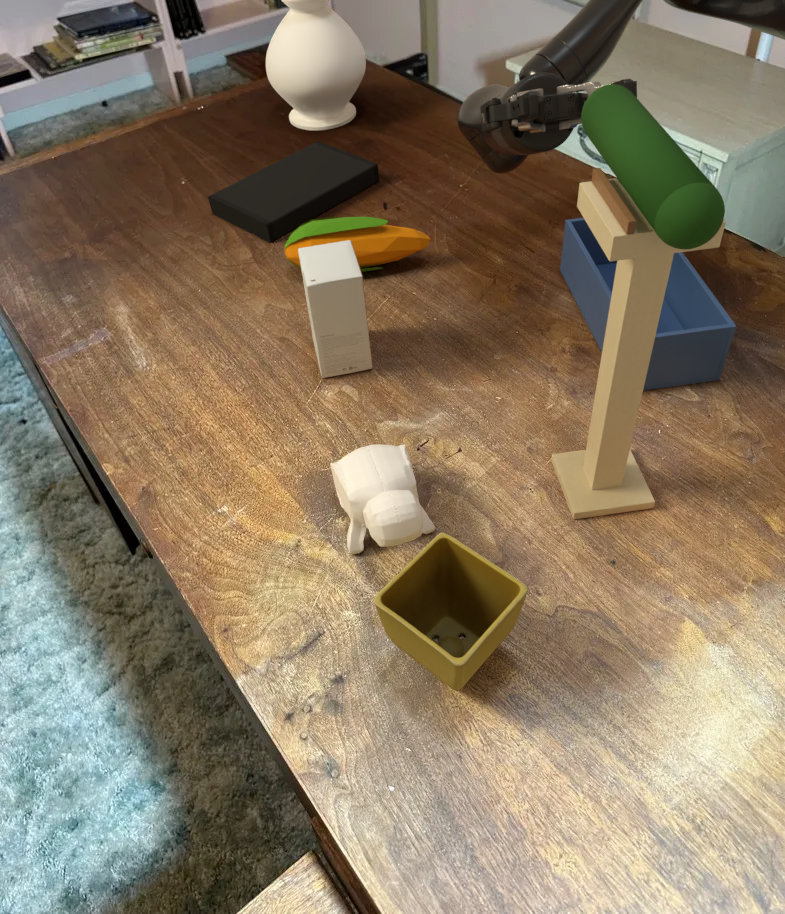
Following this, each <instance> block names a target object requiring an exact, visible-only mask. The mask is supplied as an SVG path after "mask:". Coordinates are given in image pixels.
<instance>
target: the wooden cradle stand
mask: <svg viewBox="0 0 785 914" xmlns="http://www.w3.org/2000/svg"><path fill="white" fill-rule="evenodd" d="M578 185H579V186H578V193H577V202H576V208H577V209H578V212H579V213H580V214H581V217H582V218H584V219H585V221H586V223H587V224H588V226H589V228H590V229H591V231H592V233H593V234H594V236H595V238H596V239H597V241H598V243H599V245H600V246H601V248H602V250H603V251H604V253H605V255H606V256H607V258H608V260H609V261H610V262H611V261H617V266H616V272H615V278H614V284H613V290H612V296H611V302H610V308H609V314H608V320H607V326H606V332H605V338H604V344H603V350H602V352H601V357H600V362H599V369H598V376H597V379H596V380H597V381H596V387H595V394H594V398H593V405H592V411H591V417H590V423H589V429H588V435H587V440H586V448H585V449H580V450H573V451H565V452H558V453H552V454H551V459H550V461H551V465H552V466H553V469H554V473H555V475H556V478H557V480H558V484H559V486H560V488H561V491H562V494H563V497H564V499H565V503H566V504H567V507H568V510H569V512H570V515H571V517H572V519H573V520H581V519H588V518H594V517H601V516H607V515H608V516H609V515H614V514H621V513H627V512H636V511H641V510H650V509H654V508H655V504H656V500H655V498H654V496H653V494H652V492H651V489H650V487H649V485H648V483H647V481H646V479H645V477H644V475H643V472H642V471H641V468H640V466H639V464H638V463H637V460H636V458H635V456H634V454H633V452H632V450H631V445H632V441H633V437H634V433H635V428H636V424H637V419H638V415H639V410H640V405H641V401H642V398H643V392H644V391H643V389H644V384H645V380H646V375H647V371H648V366H649V362H650V358H651V353H652V349H653V344H654V340H655V335H656V331H657V327H658V322H659V318H660V313H661V309H662V304H663V300H664V296H665V291H666V287H667V282H668V278H669V274H670V269H671V265H672V260H673V256H674V253H679V252H683V253H687V252H694V251H700V250H709V249H717V248H720V246H721V242H722V238H723V235H724V231H725V228H726V224H727V222H726V220H725V219H724V220H723V223H722V226H721V227H720V229H719V231H718V232H717V233H716V235H715V236H714V237H713V238H712V239H711V240H710V241H708V242H707V243H705V244H703V245H702V246H699V247H696V248H693V249H677V248H674V247H671V246H669V245H667V244H666V243H664V242H663V241H662V240H661V239H660V238H659V237H658V235H657V234H656V232H655V231H654V230H653V228H652V227H651V225H650V224H649V223H648V221H647V220H646V218H645V217H644V215H643V214H642V213H641V211H640V210H639V208H638V207H637V206H636V204H635V203H634V201H633V200H632V198H631V197H630V196H629V194H628V193H627V191H626V190H625V189H624V187H623V186H622V184H621V183H620V181H619V180H618V179H617V177H615V178H608V177H607V175H606V174H605V173H604V171H603V170H602V168H601V167H596V168H592V173H591V180H590V181H582V182H579V184H578Z"/></svg>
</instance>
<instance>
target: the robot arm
mask: <svg viewBox="0 0 785 914" xmlns="http://www.w3.org/2000/svg"><path fill="white" fill-rule="evenodd" d="M643 1H644V0H587V2H586V3H585V5H584V6H582V8H581V9H580V10H579V11H578V12H577V13H576V14H575V16H573V18H571V20H570V21H569V22H568V23H567V24H566V25H564V27H563V28H562V29H560V31H558V32H557V33H556V34H555V35H554V36H553V37H552V38H551V39H550V40H549V41H548V42H547V43H546V44H545V45H543V46H542V48H540V50H538V51H537V52H536V53H535V54H534V55H533V56H531V58H530V59H529V60H528V61H527V62H525V64H524V65H523V66H522V67H521V68H520V71H519V74H518V81H517V82H515V83H513V84H512V85H510V86H509V87H508V86H506V85H503V84H496V83H495V84H488V85H485V86H482V87H480V88H478V89H476V90H475V91H473V92H472V93H470V94H469V95H468V96H467V97H466V98H465V99H464V101H463V103H462V104H461V105H460V106H459V109H458V113H457V119H456V121H457V127H458V130H459V131H460V132H461V134H462V136H463V137H464V138H465V139H466V141H468V143H469V144H470V146H471V147H472V148H473V149H474V151H475V153H477V155H478V156H479V158H481V160H482V162H483V163H484V164H485V166H487V168H488V169H489V170H490V171H491V172H493V173H495V174H499V175H500V174H502V175H503V174H508V173H511V172H513V171H514V170H515V171H516V169H517V168H519V167H520V166H521V165H523V163H524V162H525V160H526V159H527V158H528V157H529V156H530V155H531V156H532V155H534V154H535V155H536V154H540V153H545V152H550V151H552V150H555V149H557V148H559V147H560V146H561V145H562V144H564V143H565V142H566V141H567V139H568V138H569V137H570V136H571V134H572V133H573V130H574V129H575V128H576V127H577V126H578V125H582V122H581V114H582V109H583V106H584V104H585V102H586V100H587V98H588V97H589V96H590V95H591V94H592V93H593V92H594V91H595V90H597V89H598V88H600V87H602V86H605V85H609V84H616V85H621V86H623V87H626V88H627V89H628V90H630V91H631V92H632V93H633V94H634V96H635V97H636V98H637V99H638V87H637V86H638V81H637V80H633V79H631V78H625V79H621V80H617V81H611V83H607V84H603V85H602V84H601V82H599V81H593V79H594V78H595V77H596V76H597V74H598V73H599V72H600V71H601V70H602V69H603V67H604V66H605V64H606V63H607V62H608V61H609V59H610V58H611V55H612V54H613V53H614V51H615V49H616V47H617V46H618V44H619V42H620V40H621V38H622V37H623V34H624V32H625V31H626V29H627V27H628V25H629V23H630V22H631V20H632V18H633V16H634V15H635V14H636V12H637V10H638V8H639V7H640V6H641V4H642V2H643ZM662 1H663V2H664V3H665V4H667V5H669V6H671V7H672V8H675V9H677V10H681V11H684V12H687V13H692V14H696V15H700V16H705V17H710V18H714V19H718V20H721V21H726V22H730V23H735V24H737V25H741V26H744V27H747V28H750V29H752V30H755V31H758V32H761V33H763V34H767V35H770V36H773V37H776V38H778V39H782V40H784V41H785V0H662ZM591 81H592V82H591ZM584 91H586V92H584Z"/></svg>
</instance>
